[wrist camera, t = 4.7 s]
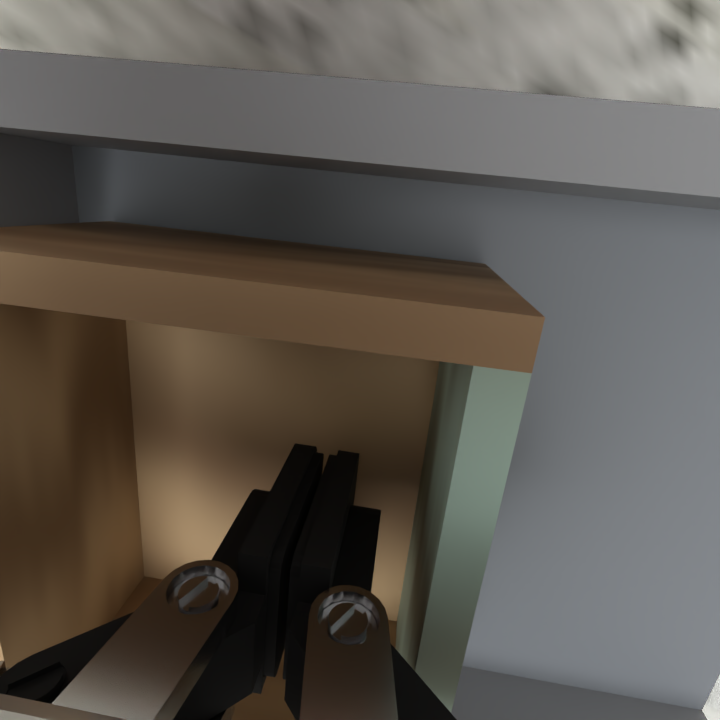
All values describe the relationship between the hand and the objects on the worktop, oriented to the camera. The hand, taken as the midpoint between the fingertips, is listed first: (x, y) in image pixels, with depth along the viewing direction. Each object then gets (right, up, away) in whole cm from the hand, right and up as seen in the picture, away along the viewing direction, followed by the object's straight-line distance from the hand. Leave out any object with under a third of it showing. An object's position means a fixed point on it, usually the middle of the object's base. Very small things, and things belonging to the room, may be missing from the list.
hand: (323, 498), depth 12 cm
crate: (-1, +1, +2) cm, 3 cm away
